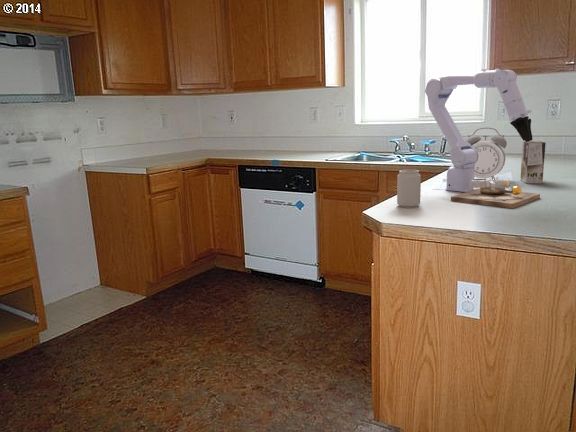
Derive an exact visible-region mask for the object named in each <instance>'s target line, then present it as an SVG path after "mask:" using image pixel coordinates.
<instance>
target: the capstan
mask: <svg viewBox="0 0 576 432" xmlns="http://www.w3.org/2000/svg"><path fill="white" fill-rule="evenodd" d="M471 187H472V188H480V192H481V193H484V194H504V193H511V194H512V193H513V194H514V195H519V194H520V193H521V192H522V188H521V187H520V186H518V185H516V186H513V187H512V188H511V189H509V188H510V179H506V180H505V179H496V180H493V179H492V178H491V177H489V178H485V179H484V180H483V179H481V180H479V179H477V180H476V179H474V180H472V183H471ZM507 188H508V189H509V190H508V189H507Z"/></svg>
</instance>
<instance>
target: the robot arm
mask: <svg viewBox="0 0 576 432" xmlns="http://www.w3.org/2000/svg"><path fill="white" fill-rule="evenodd" d="M466 85H474V86H475V87H476V88H477V89H483V88H484V89H485V88H487V89H488V88H489V89H490V88H497V89H498V92H499V94H500V97H501V100H502V102H503V105H504V108H505V110H506V114H507V115H508V117H509V120H508V121H509V123H510V125H511V126H512V127H513V128H514V129H515V130H516V132H517V133H518V134H519V136H520V138H521V139H522V140H523V141H524V142H528V141H533V132H532V128H531V127H532V119H531V118H529V116H528V115H529V114H531V113H532V110H531V109H529V110H527V107H526V105H525V102H524V100H523V97H522V95H521V92H520V90H519V87H518V84H517V73H516V72H515V71H514V70H511V69H500V68H495V69H494V70H488V69H487V68H483V69H481V70H479V71H477V72H476V73H475V74H474V75H447V76H442V77H441V76H440V77H438V78H430V79H429V80H428V82H427V83H426V86H425V90H424V93H425V95H426V97H427V103H428V109H429V110H430V112H431V115H432V116H433V118H434V120H435V122H436V123H437V126H438V128H439V129H440V130H441V133H442V134H443V136H444V138H445V141H447V143H448V144H449V150H448V154H449V155H450V162H451V163H452V165H453V166H452V165H451V166H449V167H448V169H447V172H446V187H445V191H453V192H461V193H465V192H468V191H472V190H475V189H478V188H472V187H471V183H472V180H475V177H474V169H475V163H476V162H477V161H478V158H479V154H478V152H477V150H476V149H474V148H473V147H472V146H471V144H470V143H468V142H466V139H464V137H463V135H462V134H461V132H460V130H459V128H458V127H457V125H456V123H455V122H454V119H453V118H452V116H451V115H450V113H449V111H448V109H447V108H446V103H447V101H448V100H449V98H450V96H451V95H452V93H453V91H454V90H455V89H457V87H458V86H466Z"/></svg>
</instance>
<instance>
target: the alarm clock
mask: <svg viewBox="0 0 576 432" xmlns="http://www.w3.org/2000/svg"><path fill="white" fill-rule="evenodd" d="M485 129H489V130H494V131H495V132H496V133H497V134H493V135H492V136H491V137H489V135H483V136H482V137H483V138H484V140H483V141H482V137H481V136H480V135H475V133H477V131H480V130H485ZM487 138H489V140H490V141H488V140H487ZM465 141H466V142H468V143H470V144H471V146H472V147H473V148H474V149H476V150H477V152H478V154H479V158H478V161H477V162H476V163H475V169H474V178H476V179H484V178H485V179H486V178H490V179H491V180H493V179H495V177H494V176H496V175H497V174H499V173H500V172H501V171H502V170H503V169H504V167H505V165H506V154H505V151H504V149H506V148H507V146H508V143H507V140H506V139H505V134H500V133H499V131H498V130H497V129H496V128H492V127H480V128H476V130H474V132H473V133H472V134H471V135H469V134H468V135H467V138H466V139H465Z"/></svg>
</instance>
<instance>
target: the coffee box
mask: <svg viewBox="0 0 576 432" xmlns="http://www.w3.org/2000/svg"><path fill="white" fill-rule="evenodd" d="M546 143H547V142H544V141H541V140H531V141H528V142H526V141H522V144H521V145H522V147H521V164H520V166H521V167H520V181H521V182H523V183H525V184H543V179H544V166H545V157H546Z"/></svg>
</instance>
